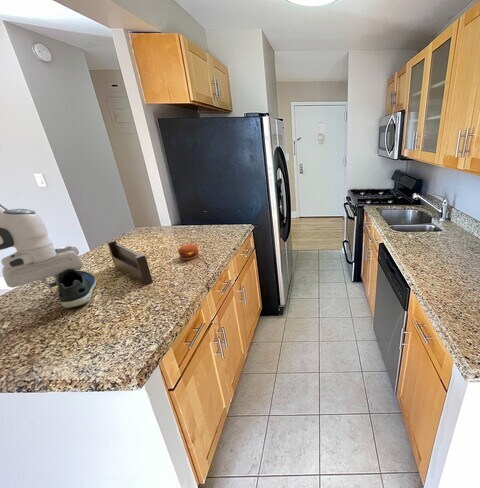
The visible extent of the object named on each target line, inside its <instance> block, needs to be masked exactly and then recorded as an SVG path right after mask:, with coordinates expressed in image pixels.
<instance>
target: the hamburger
mask: <svg viewBox="0 0 480 488" xmlns="http://www.w3.org/2000/svg"><path fill="white" fill-rule="evenodd" d="M200 249H202V247H200V246H198V245H196V244H192V243H189V244H185V245H181V246H180V247H179V248H178V250H177V251H176V252H175V254H178V255H179V259H180V260H181V261H192V260H195V259H198V258H199V257H200V253H199V250H200Z"/></svg>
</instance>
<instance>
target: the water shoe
mask: <svg viewBox="0 0 480 488" xmlns="http://www.w3.org/2000/svg"><path fill="white" fill-rule="evenodd" d="M57 282H58V286H57V289H58V290H57V292H58V299H59V300H60V306H62V307H63V308H65V309H75V308H79V307H82V306H84V305H87V304H88V303H89V302H90V300H91V299H92V293H93V292H94V291H93V290H94V289H95V287H96V285H97V280H96V278H95V276H94V275H93V274H92V273H91V272H87V271H83V270H79V269H75V268H74V269H67V270H65V271H63V272H62V273H60V274H58V278H57Z"/></svg>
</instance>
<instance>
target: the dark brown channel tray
mask: <svg viewBox="0 0 480 488" xmlns="http://www.w3.org/2000/svg"><path fill="white" fill-rule="evenodd" d="M106 245H107V247H108V250H109V253H110V255H111V258H112V262H113V265H114V267H115V268H117V269H118V270H119V271H121V272H123V273H124V274H126V275H128V276H129V277H131V278H132V279H134V280H136V281H137V282H139V283H141V284H142V285H144V286H147V285H151V284H152V283H154V281H153V277H152V274H151V271H150V267H149V264H148V260H147V257H146V255H145V254H140V253H138V252H136V251H134V250H131V249H130V248H127V247H125V246H124V245H122V244H120V243H118V241H117V240H115V239H114V240H110V241H107V242H106Z"/></svg>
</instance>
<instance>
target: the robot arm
mask: <svg viewBox="0 0 480 488" xmlns="http://www.w3.org/2000/svg"><path fill="white" fill-rule="evenodd" d="M8 248H15V249H16V251H15V252H14V253H11V254H9V255H7V256H5V257H3V258H2V259H1V260H0V261H1V265H2V266H3V267H2V271H1V272H2V276H3V280H4V282H5V284H6V286H7V288H8V287H9V288H12V289H13V288H16V287H21V286H23V285H26V284H31V283H34V282H36V281H40V283H43V284H44V285H46V286H47V288H48V289H52V288H55V287H58V282H57V278H58V274H60V273H62V272H63V271H65V270H67V269H74V268H75V269H74V270H76V269H77V270H79V269H81V268H83V266H84V263H83V261H82V259H81V258H80V256H79V254H80V252H79V249H78V248H77V247H76V246H71V245H68V246H63V247H59V248H55V245H54V244H53V242H52V240H51V239H50V238H49V236H48V230H47V227H46V225H45V223H44V222H43V220H42V217H41V216H40V215H39V214H38V213H37V212H36V211H34V210H32V209H27V208H12V209H9V208H6V207H5V206H3V205H2V204H1V203H0V251H1V250H6V249H8ZM50 277H53V281H47V278H50Z"/></svg>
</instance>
